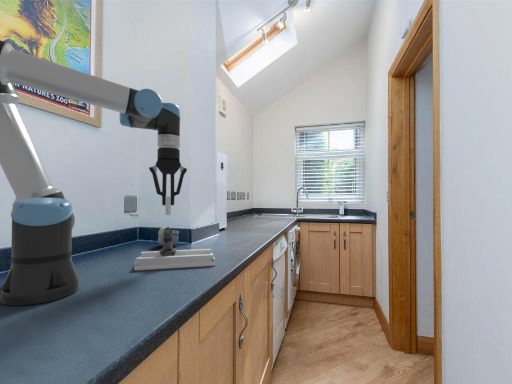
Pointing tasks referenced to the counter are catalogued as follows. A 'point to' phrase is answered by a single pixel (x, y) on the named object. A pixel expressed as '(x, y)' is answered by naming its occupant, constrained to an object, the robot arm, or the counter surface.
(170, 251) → the stone tower figurine
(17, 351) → the counter surface
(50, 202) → the robot arm
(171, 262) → the rail board
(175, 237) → the mug
